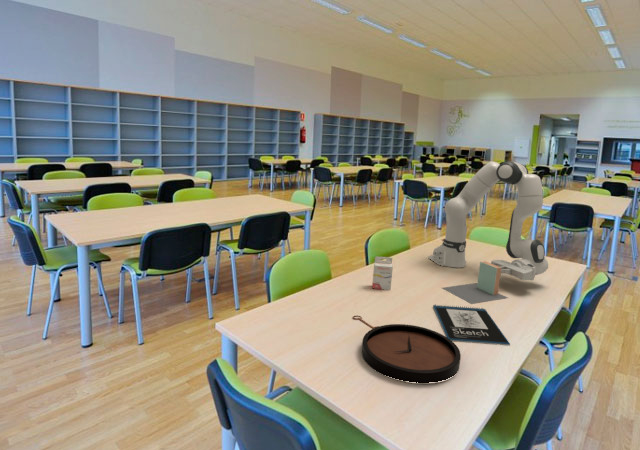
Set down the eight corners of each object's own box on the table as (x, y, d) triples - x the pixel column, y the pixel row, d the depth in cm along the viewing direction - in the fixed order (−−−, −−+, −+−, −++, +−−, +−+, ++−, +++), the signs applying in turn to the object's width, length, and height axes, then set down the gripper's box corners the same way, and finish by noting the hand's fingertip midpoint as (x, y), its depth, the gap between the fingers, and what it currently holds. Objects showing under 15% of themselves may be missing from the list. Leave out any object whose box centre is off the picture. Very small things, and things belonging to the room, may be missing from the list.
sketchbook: (447, 342, 148) (448, 337, 147) (432, 307, 177) (432, 303, 176) (509, 346, 146) (510, 341, 146) (483, 311, 175) (484, 306, 175)
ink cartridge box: (372, 289, 194) (374, 259, 190) (372, 285, 198) (374, 255, 195) (390, 290, 193) (393, 260, 190) (390, 286, 198) (392, 257, 194)
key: (387, 332, 154) (362, 316, 166) (387, 329, 153) (362, 313, 166) (375, 334, 150) (350, 317, 163) (375, 331, 150) (351, 315, 163)
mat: (441, 289, 198) (441, 287, 197) (476, 284, 206) (476, 282, 206) (471, 305, 180) (471, 304, 180) (508, 299, 188) (508, 297, 188)
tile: (476, 287, 200) (480, 261, 197) (481, 286, 201) (485, 261, 198) (492, 295, 191) (496, 268, 188) (497, 294, 192) (501, 267, 189)
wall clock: (435, 386, 114) (343, 346, 133) (433, 399, 115) (342, 357, 134) (475, 345, 138) (392, 316, 157) (473, 356, 139) (391, 326, 158)
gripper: (503, 255, 210) (483, 258, 205) (538, 268, 192) (517, 271, 187) (502, 267, 212) (481, 270, 206) (536, 281, 194) (515, 284, 188)
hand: (498, 270), depth 196 cm, fingers closed
